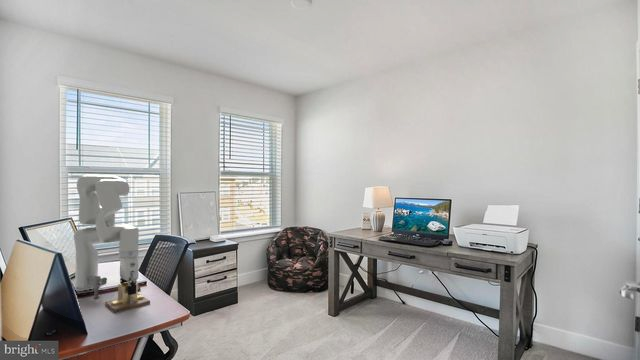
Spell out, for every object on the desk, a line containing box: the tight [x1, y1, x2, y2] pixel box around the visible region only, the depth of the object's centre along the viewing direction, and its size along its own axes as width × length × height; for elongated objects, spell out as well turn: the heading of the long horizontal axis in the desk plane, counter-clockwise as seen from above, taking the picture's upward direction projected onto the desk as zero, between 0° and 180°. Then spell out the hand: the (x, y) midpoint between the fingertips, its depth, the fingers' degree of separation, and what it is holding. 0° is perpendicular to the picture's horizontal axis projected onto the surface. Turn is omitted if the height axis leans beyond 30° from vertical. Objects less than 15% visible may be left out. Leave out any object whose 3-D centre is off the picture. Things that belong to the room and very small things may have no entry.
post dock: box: [104, 293, 151, 314], centre depth 143 cm, size 13×14×8 cm
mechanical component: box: [86, 275, 108, 299], centre depth 151 cm, size 3×10×10 cm, turn 79°
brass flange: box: [111, 281, 144, 306], centre depth 143 cm, size 12×6×8 cm, turn 139°
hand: (127, 291), depth 143 cm, fingers open, 9 cm apart
